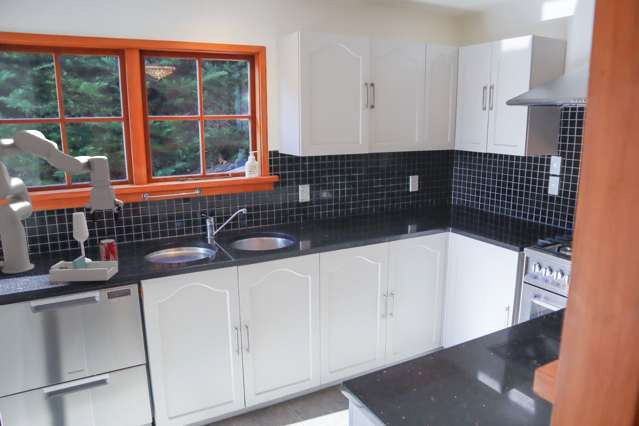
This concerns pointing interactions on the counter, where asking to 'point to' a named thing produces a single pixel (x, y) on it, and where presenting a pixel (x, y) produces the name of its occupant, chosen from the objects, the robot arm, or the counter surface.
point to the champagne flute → (80, 230)
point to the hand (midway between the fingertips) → (106, 221)
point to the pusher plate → (79, 263)
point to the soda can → (108, 250)
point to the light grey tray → (83, 271)
